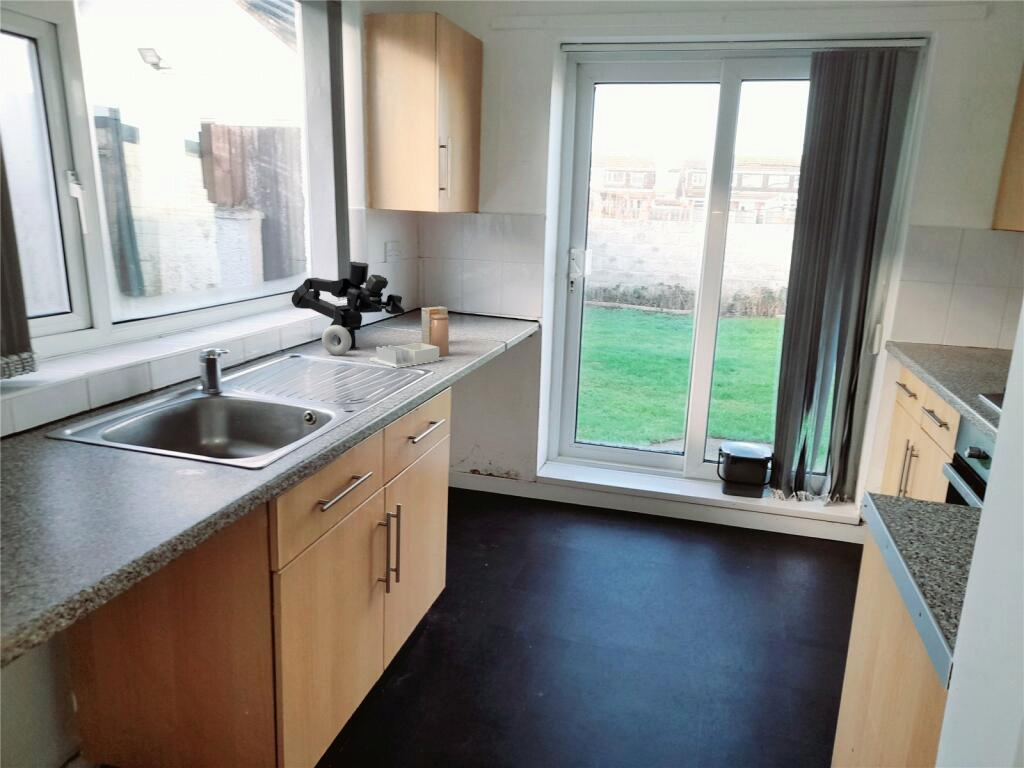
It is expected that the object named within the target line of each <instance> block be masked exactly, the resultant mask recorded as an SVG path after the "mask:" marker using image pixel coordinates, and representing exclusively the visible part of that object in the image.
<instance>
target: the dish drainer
mask: <svg viewBox="0 0 1024 768" xmlns="http://www.w3.org/2000/svg"><path fill="white" fill-rule="evenodd" d="M375 348H376V356H373V357H369V361H370V360H371V361H375V362H378V363H383V364H386V365H390V366H394V367H402V366H409V365H414V364H420V363H425V362H431V361H437V362H440V361H439V360H442V361H443V357H439V347H437V346H433V345H429V344H424V343H422V342H414V343H408V344H407V343H406V344H403V345H396V346H395V345H390V344H388V345H387V346H385V345H382V346H381V347H380V346H376V347H375ZM371 361H370V362H371ZM378 363H377V364H378ZM431 363H432V362H431Z"/></svg>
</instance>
